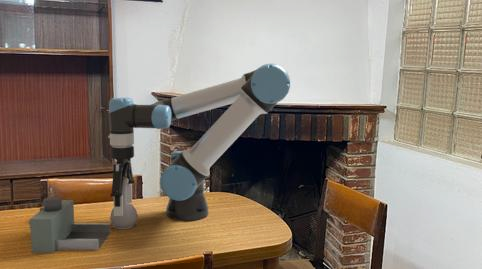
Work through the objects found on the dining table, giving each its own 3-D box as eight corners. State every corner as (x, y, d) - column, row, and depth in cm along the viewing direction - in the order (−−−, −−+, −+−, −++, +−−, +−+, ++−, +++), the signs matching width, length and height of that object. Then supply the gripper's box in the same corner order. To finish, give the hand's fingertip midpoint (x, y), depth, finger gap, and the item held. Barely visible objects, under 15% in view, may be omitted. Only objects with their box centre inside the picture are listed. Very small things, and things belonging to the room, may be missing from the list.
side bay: (110, 232, 144) (110, 223, 143) (97, 250, 130) (97, 240, 130) (72, 232, 143) (72, 223, 143) (55, 250, 130) (55, 240, 129)
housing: (74, 229, 145) (72, 190, 143) (53, 252, 128) (50, 208, 126) (55, 229, 145) (53, 190, 143) (31, 252, 127) (29, 208, 125)
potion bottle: (134, 230, 145) (132, 176, 143) (106, 230, 146) (105, 176, 143) (140, 221, 154) (139, 170, 151) (114, 221, 154) (113, 169, 151)
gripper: (119, 139, 158) (120, 197, 161) (99, 153, 133) (101, 221, 137) (141, 139, 158) (142, 197, 161) (124, 153, 133) (126, 221, 137)
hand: (123, 208), depth 149 cm, fingers open, 13 cm apart
